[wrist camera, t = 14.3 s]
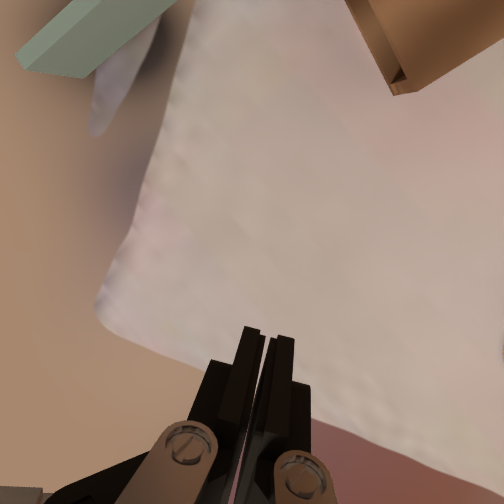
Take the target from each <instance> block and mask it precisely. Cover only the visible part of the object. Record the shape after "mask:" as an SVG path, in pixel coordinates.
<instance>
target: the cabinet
mask: <svg viewBox="0 0 504 504" xmlns="http://www.w3.org/2000/svg"><path fill="white" fill-rule="evenodd" d="M345 2H346V4H347V6H348V8H349V10H350V12H351V14H352V16H353V18H354V20H355V22H356V24H357V26H358V28H359V30H360V31H361V33H362V35H363V37H364V39H365V41H366V43H367V45H368V47H369V49H370V51H371V53H372V55H373V57H374V59H375V61H376V63H377V65H378V67H379V69H380V71H381V73H382V75H383V76H384V78H385V80H386V82H387V84H388V86H389V88H390V90H391V92H392V94H393V96H395V95H400V94H406V93H412V92H417V91H419V90H421V89H422V88H424V87H425V86H427V85H429V84H430V83H432V82H433V81H435V80H437V79H438V78H440V77H441V76H443V75H445V74H446V73H448V72H449V71H451V70H453V69H454V68H456V67H457V66H459V65H461V64H462V63H464V62H465V61H467V60H469V59H470V58H472V57H473V56H475V55H477V54H478V53H480V52H481V51H483V50H485V49H486V48H488V47H489V46H491V45H493V44H494V43H496V42H497V41H499V40H501V39H502V38H504V0H345Z"/></svg>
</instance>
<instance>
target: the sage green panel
mask: <svg viewBox="0 0 504 504" xmlns="http://www.w3.org/2000/svg"><path fill="white" fill-rule="evenodd" d="M176 1H177V0H73V1H72V2H70V3H69V5H67V6H66V7H65V8H64V9H63V10H62V11H61V12H60V13H59V14H58V15H57V16H55V17H54V18H53V19H52V20H51V21H50V22H49V23H48V24H47V25H46V26H45V27H44V28H43V29H41V30H40V31H39V32H38V33H37V34H36V35H35V36H34V37H33V38H32V39H31V40H30V41H29V42H27V43H26V45H24V46H23V47H22V48H21V49H20V50H19V51H18V52H17V53H16V54H15V55H14V56H15V57H16V59H17V60H18V61H19V63H20V64H21V65H22V67H23V68H24V70H28V71H35V72H42V73H49V74H56V75H63V76H70V77H77V78H85V77H86V76H87V75H88V74H90V73H91V72H92V71H93V70H94V69H96V68H97V67H98V66H99V65H100V64H102V63H103V62H104V61H105V60H106V59H108V58H109V57H110V56H111V55H112V54H114V53H115V52H116V51H117V50H118V49H120V48H121V47H122V46H123V45H124V44H126V43H127V42H128V41H129V40H130V39H132V38H133V37H134V36H135V35H136V34H138V33H139V32H140V31H141V30H142V29H144V28H145V27H146V26H147V25H148V24H150V23H151V22H152V21H153V20H154V19H156V18H157V17H158V16H159V15H160V14H162V13H163V12H164V11H165V10H166V9H168V8H169V7H170V6H171V5H172V4H174V3H175V2H176Z"/></svg>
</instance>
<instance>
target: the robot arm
mask: <svg viewBox="0 0 504 504" xmlns="http://www.w3.org/2000/svg"><path fill="white" fill-rule="evenodd" d="M265 338H266V336H264V335H260V330H259V329H255V328H251V327H247V326H244V329H243V333H242V336H241V339H240V343H239V346H238V349H237V352H236V356H235V359H234V362H233V365H231V364H227V363H223V362H220V361H216V360H212V359H211V361H210V363H209V365H208V368H207V370H206V373H205V375H204V378H203V380H202V383H201V386H200V388H199V390H198V393H197V396H196V398H195V401H194V403H193V406H192V408H191V411H190V413H189V416H188V419H187V421H180V422H176V423H174V424H172V425H170V426H168V427H167V428H166V429H165V430H164V432H163V433H162V434H161V435H160V437H159V438H158V440H157V442H156V443H155V444H154V446H153V447H152V449H151V450H150V451H148V452H145V453H143V454H141V455H138V456H136V457H134V458H131V459H129V460H126V461H124V462H122V463H119V464H117V465H114V466H112V467H110V468H108V469H105V470H103V471H100V472H98V473H95V474H93V475H91V476H88V477H86V478H83V479H81V480H79V481H77V482H74V483H72V484H69V485H67V486H65V487H63V488H61V489H59V490H58V491H56V492H55V493H43V488H35V487H10V486H0V504H228V500H229V496H230V492H231V489H232V485H233V481H234V477H235V474H236V470H237V466H238V462H239V459H240V455H241V452H242V448H243V444H244V440H245V437H246V433H247V437H246V442H245V447H244V452H243V457H242V462H241V468H240V472H239V478H238V483H237V488H236V494H235V499H234V504H338V503H337V498H336V494H335V489H334V484H333V480H332V477H331V475H330V472H329V470H328V469H327V468H326V466H325V465H324V464H323V463H322V462H321V461H320V460H319V459H318V458H317V457H315V456H313V455H312V454H311V389H310V385H306V384H302V383H299V382H295V381H292V373H293V358H294V342H295V339H294V338H290V337H286V336H282V335H278V336H277V339H276V338H272V337H271V338H270V342H269V346H268V349H267V353H266V357H265V361H264V364H263V368H262V372H261V376H260V379H259V383H258V387H257V391H256V394H255V389H256V384H257V379H258V374H259V369H260V363H261V358H262V353H263V348H264V343H265ZM503 357H504V349H503ZM254 394H255V398H254ZM253 399H254V402H253ZM252 405H253V406H252ZM251 410H252V411H251ZM250 415H251V416H250ZM249 420H250V421H249ZM248 424H249V426H248ZM247 429H248V431H247Z"/></svg>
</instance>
